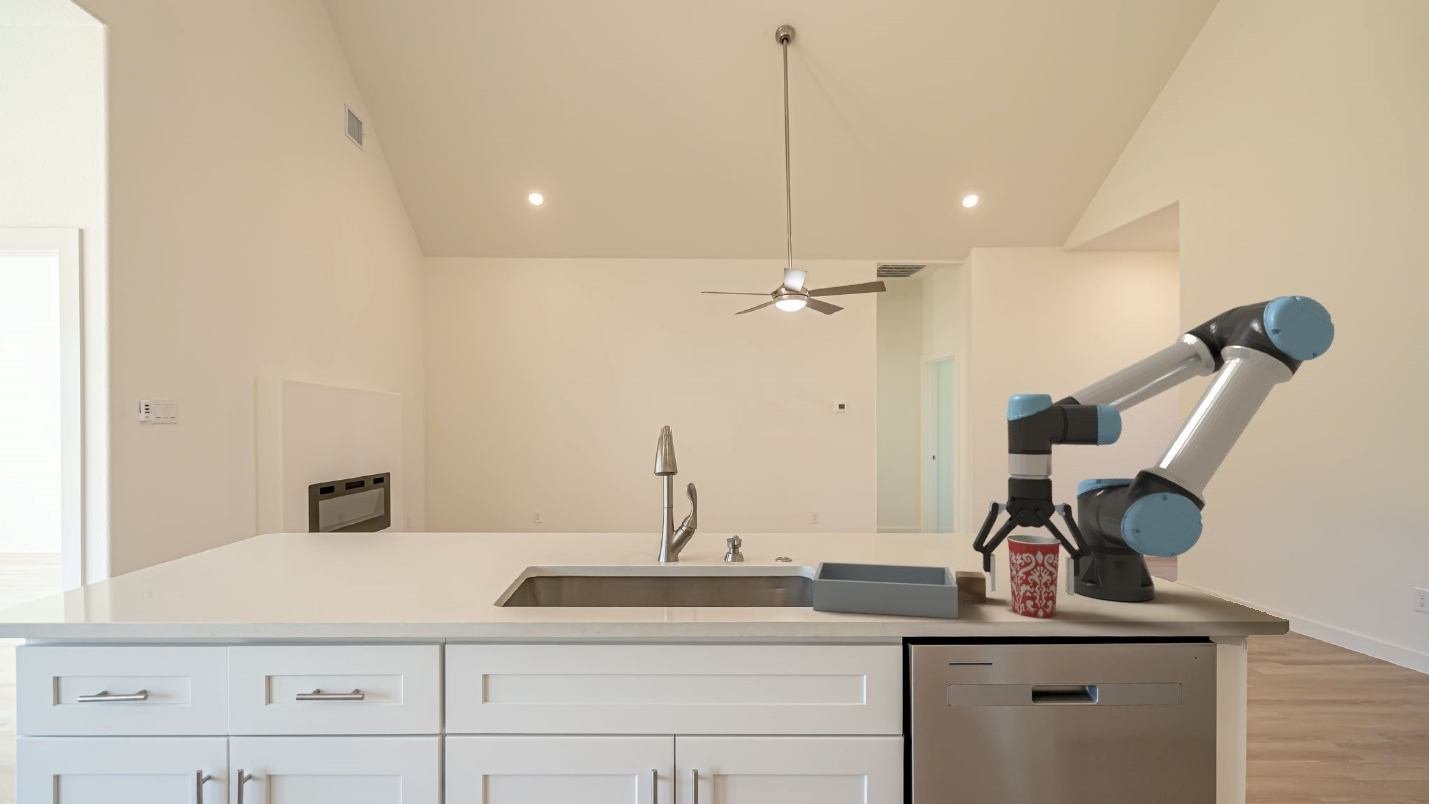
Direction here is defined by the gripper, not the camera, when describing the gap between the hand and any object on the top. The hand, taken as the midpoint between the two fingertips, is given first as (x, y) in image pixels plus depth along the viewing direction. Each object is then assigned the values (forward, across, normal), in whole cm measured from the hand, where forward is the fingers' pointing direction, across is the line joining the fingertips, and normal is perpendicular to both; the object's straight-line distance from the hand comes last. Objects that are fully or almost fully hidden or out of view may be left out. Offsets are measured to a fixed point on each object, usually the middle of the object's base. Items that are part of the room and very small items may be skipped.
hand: (1030, 591), depth 132 cm
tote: (+3, +27, 0) cm, 27 cm away
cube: (+3, +10, -6) cm, 12 cm away
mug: (+4, 0, 0) cm, 4 cm away
